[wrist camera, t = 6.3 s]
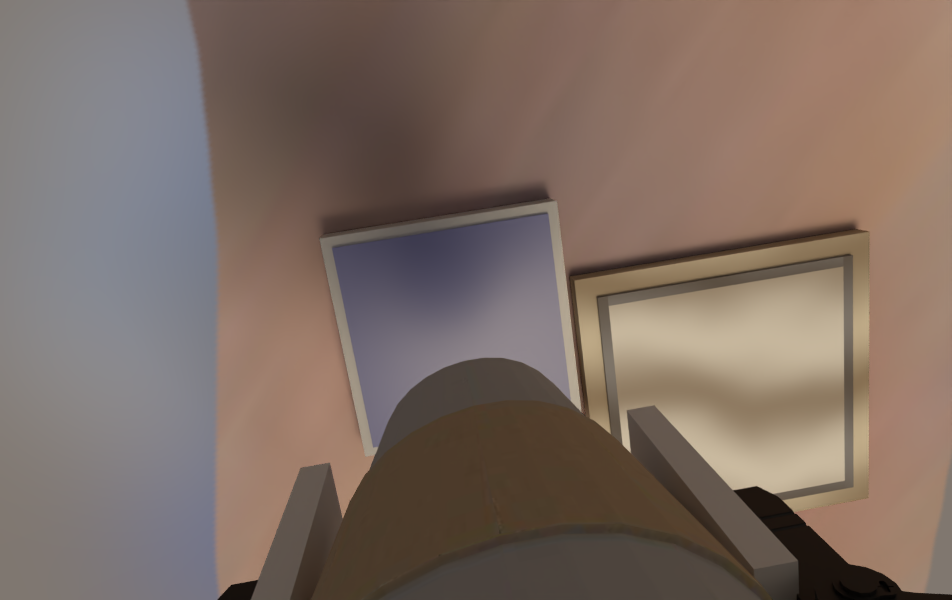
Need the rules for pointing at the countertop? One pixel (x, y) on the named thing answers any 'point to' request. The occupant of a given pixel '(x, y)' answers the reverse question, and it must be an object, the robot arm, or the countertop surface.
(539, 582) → the coffee cup
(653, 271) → the board
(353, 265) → the ink pad
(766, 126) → the countertop surface
